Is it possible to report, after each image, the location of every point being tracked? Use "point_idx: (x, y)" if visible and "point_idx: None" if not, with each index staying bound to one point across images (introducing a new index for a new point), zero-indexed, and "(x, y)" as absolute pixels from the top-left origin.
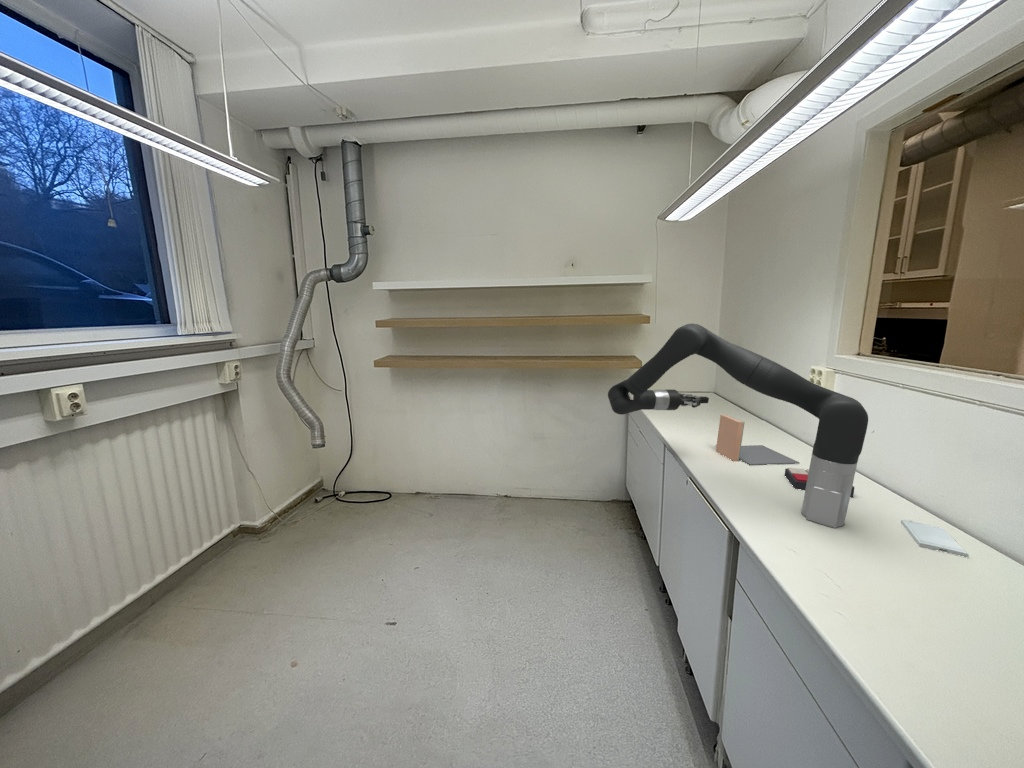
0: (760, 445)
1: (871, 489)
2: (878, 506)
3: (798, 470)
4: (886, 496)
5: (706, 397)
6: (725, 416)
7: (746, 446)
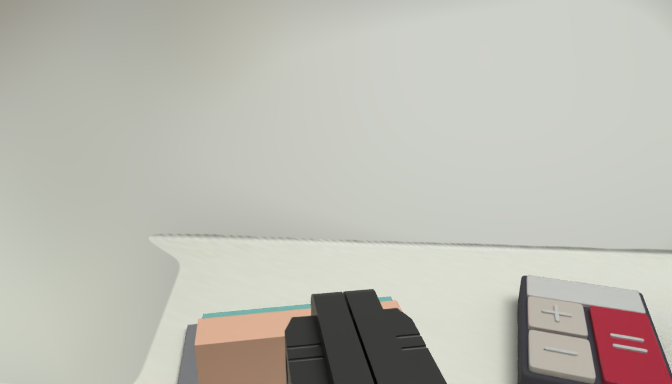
0: (189, 331)
1: (531, 268)
2: (664, 303)
3: (563, 350)
4: (567, 265)
5: (379, 304)
6: (248, 336)
7: (190, 380)
